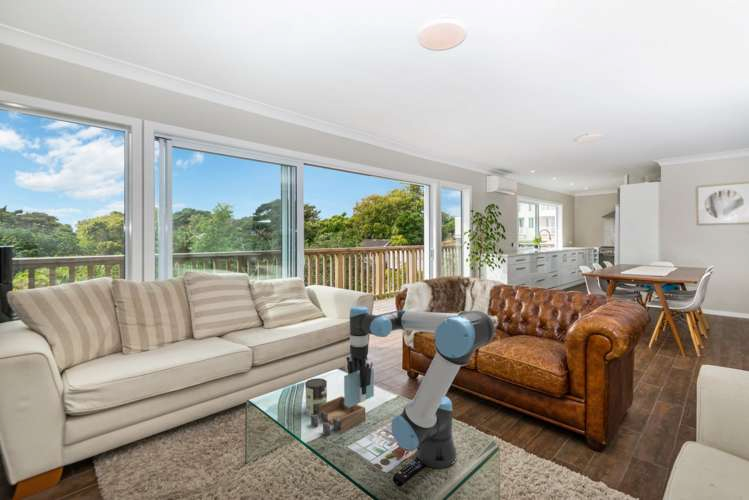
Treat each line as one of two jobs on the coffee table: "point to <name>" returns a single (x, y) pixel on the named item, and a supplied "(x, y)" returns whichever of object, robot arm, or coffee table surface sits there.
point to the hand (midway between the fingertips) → (359, 399)
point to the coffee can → (315, 395)
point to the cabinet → (338, 415)
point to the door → (356, 388)
